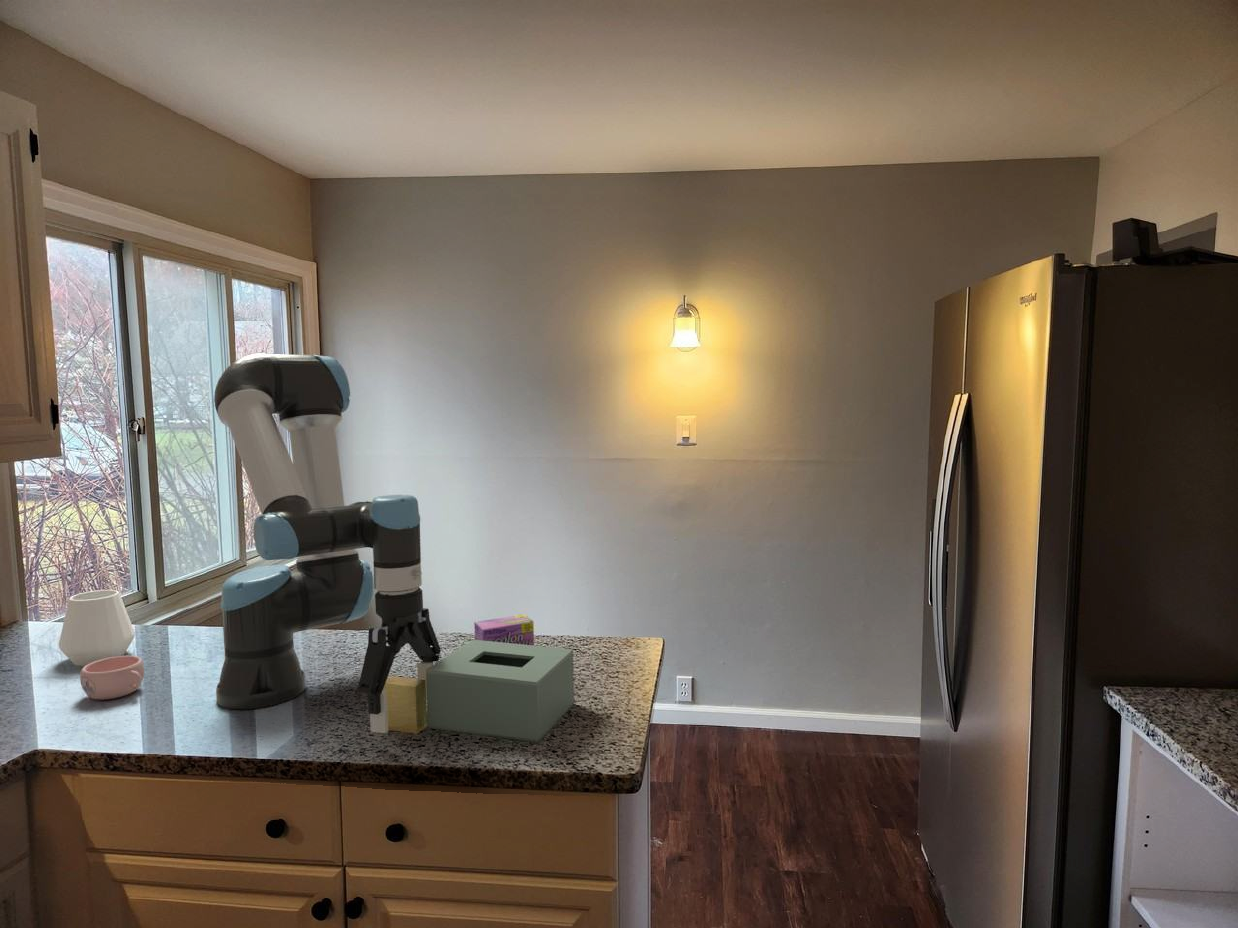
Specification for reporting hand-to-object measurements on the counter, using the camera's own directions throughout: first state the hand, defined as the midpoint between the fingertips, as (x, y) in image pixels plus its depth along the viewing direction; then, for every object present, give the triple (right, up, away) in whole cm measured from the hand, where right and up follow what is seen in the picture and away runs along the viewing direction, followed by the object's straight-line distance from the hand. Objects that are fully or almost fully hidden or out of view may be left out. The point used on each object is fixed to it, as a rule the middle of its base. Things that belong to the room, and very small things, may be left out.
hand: (404, 714), depth 125 cm
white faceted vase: (-76, 0, +36) cm, 84 cm away
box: (+14, -1, +21) cm, 25 cm away
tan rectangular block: (0, -2, 0) cm, 2 cm away
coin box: (+16, -2, +5) cm, 17 cm away
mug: (-58, -2, +16) cm, 60 cm away
